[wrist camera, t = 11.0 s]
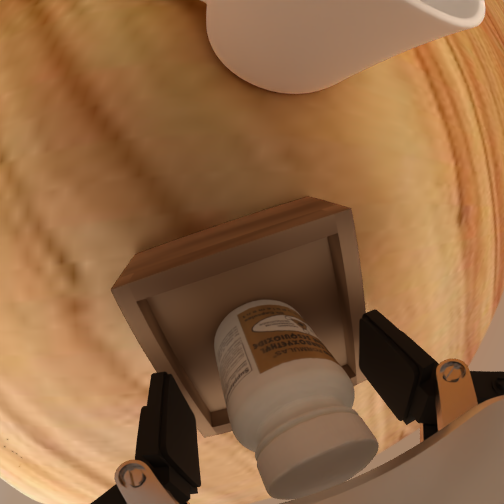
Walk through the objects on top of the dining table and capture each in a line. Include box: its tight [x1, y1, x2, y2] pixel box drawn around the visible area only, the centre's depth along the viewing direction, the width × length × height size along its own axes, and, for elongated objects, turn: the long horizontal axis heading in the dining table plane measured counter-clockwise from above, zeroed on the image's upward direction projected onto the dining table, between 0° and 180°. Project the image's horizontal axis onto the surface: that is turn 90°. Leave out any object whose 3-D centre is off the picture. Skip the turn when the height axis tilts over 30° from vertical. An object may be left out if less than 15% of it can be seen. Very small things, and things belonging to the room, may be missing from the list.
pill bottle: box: [214, 300, 378, 500], centre depth 9 cm, size 4×4×8 cm
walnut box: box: [111, 196, 367, 438], centre depth 14 cm, size 10×10×5 cm
